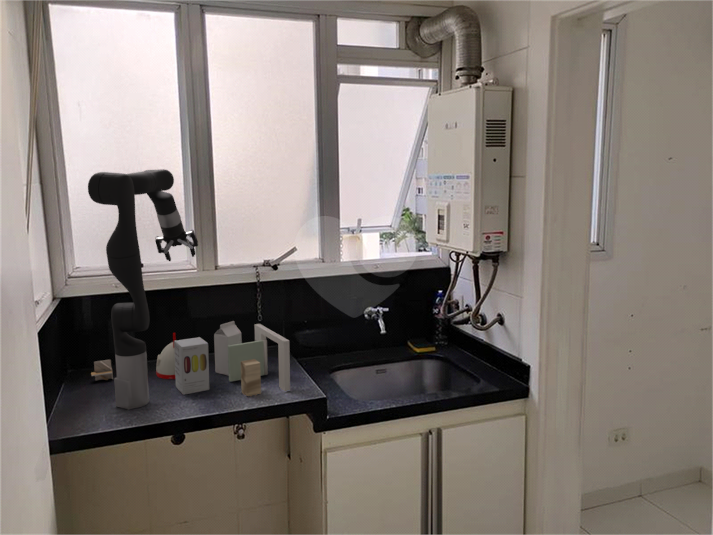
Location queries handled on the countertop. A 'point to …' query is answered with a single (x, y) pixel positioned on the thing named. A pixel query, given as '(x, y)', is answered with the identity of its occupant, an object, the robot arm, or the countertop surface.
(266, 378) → the countertop surface
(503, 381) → the countertop surface
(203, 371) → the supplement box
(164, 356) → the kitchen timer
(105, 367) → the architectural model
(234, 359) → the door
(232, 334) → the milk carton
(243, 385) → the block
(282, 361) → the door frame
